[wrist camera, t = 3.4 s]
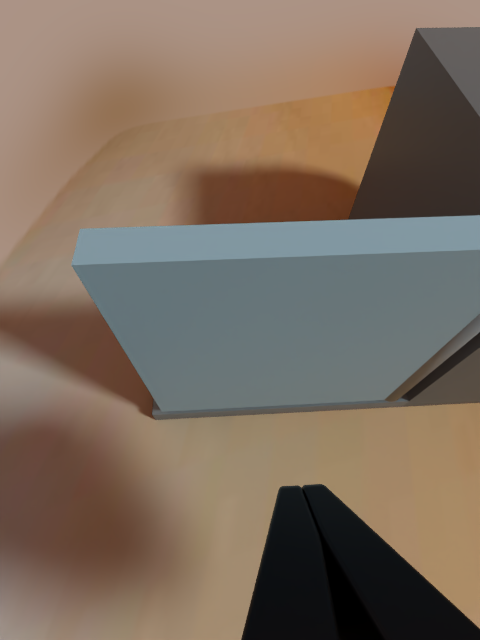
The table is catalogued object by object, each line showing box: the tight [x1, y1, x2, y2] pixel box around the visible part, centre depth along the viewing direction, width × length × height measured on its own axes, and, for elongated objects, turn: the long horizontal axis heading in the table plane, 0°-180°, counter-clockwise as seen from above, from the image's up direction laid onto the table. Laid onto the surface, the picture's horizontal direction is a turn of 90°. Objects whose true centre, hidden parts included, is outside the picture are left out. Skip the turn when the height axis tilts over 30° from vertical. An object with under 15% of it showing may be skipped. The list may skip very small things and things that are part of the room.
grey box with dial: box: [152, 27, 480, 420], centre depth 16 cm, size 14×19×11 cm
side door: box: [72, 215, 480, 412], centre depth 12 cm, size 1×11×10 cm, turn 93°
